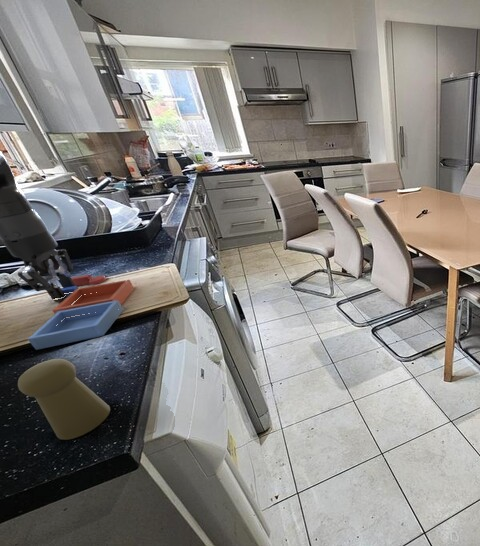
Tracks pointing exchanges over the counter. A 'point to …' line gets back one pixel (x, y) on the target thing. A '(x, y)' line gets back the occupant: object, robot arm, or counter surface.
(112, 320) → the blue bin
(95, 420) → the cork
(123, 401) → the counter surface
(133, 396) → the counter surface
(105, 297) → the red bin
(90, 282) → the red block
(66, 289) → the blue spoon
